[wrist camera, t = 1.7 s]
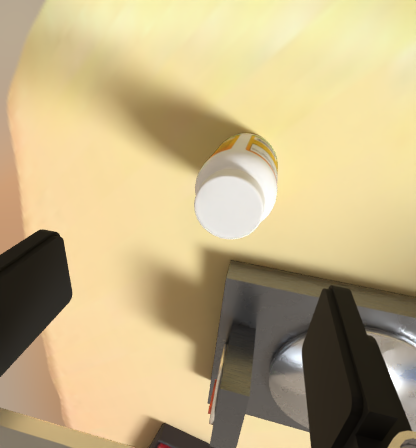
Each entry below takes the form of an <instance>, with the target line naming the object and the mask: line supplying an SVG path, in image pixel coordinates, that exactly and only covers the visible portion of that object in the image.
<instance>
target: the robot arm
mask: <svg viewBox="0 0 416 448" xmlns="http://www.w3.org/2000/svg"><path fill="white" fill-rule="evenodd" d="M71 298H72V288H71V282H70V276H69V270H68V264H67V258H66V252H65V247H64V241H63V238H62V237H60V235H59V233H57V232H54V231H48V230H39V231H37V232H35V233H34V234H32V235H31V236H29V237H28V238H26V239H25V240H23V241H21V242H20V243H18V244H17V245H15V246H13V247H12V248H11V249H9V250H7V251H6V252H4V253H3V254H1V255H0V377H1V375H3V374H4V373H5V371H6V370H7V369H8V368H9V367H10V366H11V365H12V364H13V363H14V361H16V359H17V358H18V357H19V356H20V355H21V354H22V353H23V352H24V351H25V350H26V348H28V346H29V345H30V344H31V343H32V342H33V341H34V340H35V339H36V338H37V337H38V336H39V334H40V333H41V332H42V331H43V330H44V329H45V328H46V327H47V326H48V325H49V324H50V323H51V321H52V320H53V319H54V318H55V317H56V316H57V315H58V314H59V313H60V312H61V311H62V309H63V308H64V307H65V306H66V305H67V304H68V303H69V302H70V300H71ZM302 363H303V373H304V383H305V392H306V402H307V411H308V421H309V431H310V440H311V448H416V432H413V431H412V429H411V426H410V424H409V421H408V419H407V416H406V414H405V411H404V409H403V406H402V404H401V401H400V399H399V396H398V394H397V391H396V389H395V386H394V384H393V381H392V379H391V376H390V374H389V371H388V368H387V366H386V363H385V361H384V358H383V356H382V353H381V351H380V348H379V346H378V343H377V341H376V340H375V338H374V337H373V336H370V335H367V333H366V330H365V327H364V325H363V322H362V319H361V317H360V314H359V311H358V308H357V306H356V303H355V300H354V298H353V295H352V292H351V290H350V289H349V288H344V287H339V286H334V285H330V286H329V288H328V289H326V288H323V289H322V291H321V294H320V297H319V300H318V303H317V305H316V308H315V311H314V314H313V317H312V320H311V322H310V325H309V328H308V331H307V334H306V337H305V339H304V342H303V345H302ZM0 448H135V447H132V446H128V445H125V444H122V443H118V442H115V441H112V440H108V439H105V438H101V437H98V436H95V435H91V434H88V433H85V432H81V431H78V430H74V429H71V428H68V427H64V426H61V425H57V424H54V423H50V422H47V421H44V420H40V419H37V418H33V417H30V416H27V415H23V414H20V413H16V412H13V411H9V410H6V409H3V408H0Z"/></svg>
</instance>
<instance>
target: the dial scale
mask: <svg viewBox="0 0 416 448" xmlns="http://www.w3.org/2000/svg"><path fill="white" fill-rule="evenodd" d="M330 285H334V286H339V287H344V288H349V289H350V290H351V292H352V295H353V298H354V300H355V303H356V306H357V308H358V311H359V314H360V317H361V319H362V322H363V325H364V327H365V330H366V333H367V335H370V336H373V337H374V338H375V340H376V341H377V343H378V346H379V348H380V351H381V353H382V356H383V358H384V361H385V363H386V366H387V368H388V371H389V374H390V376H391V379H392V381H393V384H394V386H395V389H396V391H397V394H398V396H399V399H400V401H401V404H402V406H403V409H404V411H405V414H406V416H407V419H408V421H409V424H410V426H411V429H412V431H413V432H416V297H411V296H406V295H401V294H396V293H391V292H386V291H381V290H377V289H372V288H367V287H362V286H357V285H352V284H347V283H342V282H337V281H332V280H327V279H322V278H317V277H312V276H307V275H302V274H297V273H292V272H287V271H282V270H277V269H272V268H267V267H262V266H257V265H252V264H247V263H242V262H238V261H233V260H231V262H230V266H229V269H228V273H227V277H226V283H225V289H224V296H223V303H222V310H221V316H220V323H219V330H218V337H217V343H216V350H215V357H214V364H213V370H212V377H211V384H210V391H209V397H208V404H210V406H209V411H208V414H211V415H210V421H209V424H212V425H213V430H212V436H211V441H210V446H211V447H214V448H236V446H237V443H238V439H239V435H240V431H241V427H242V423H243V420H244V416H245V414H247V415H251V416H254V417H258V418H261V419H265V420H268V421H272V422H275V423H279V424H282V425H286V426H290V427H293V428H297V429H300V430H304V431H307V432H310V431H309V421H308V411H307V402H306V392H305V383H304V373H303V363H302V345H303V342H304V339H305V337H306V334H307V331H308V328H309V325H310V322H311V320H312V317H313V314H314V311H315V308H316V305H317V303H318V300H319V297H320V294H321V291H322V289H323V288H326V289H328V288H329V286H330Z"/></svg>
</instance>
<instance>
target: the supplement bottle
mask: <svg viewBox="0 0 416 448" xmlns="http://www.w3.org/2000/svg"><path fill="white" fill-rule="evenodd" d="M277 169H278V163H277V157H276V154H275V151H274V150H273V148H272V146H271V145H270V144H269V143H268V142H267V141H266V140H265V139H263V138H262V137H260V136H258V135H255V134H249V133H242V134H237V135H234V136H232V137H230V138H229V139H227V140H226V141H224V142H223V143H222V144H221V145H220V147H219V148H218V149H217V150H216V151H215V152H214V154H213V155H212V156H211V157H210V158H209V159H208V160H207V161H206V162H205V164H204V165H203V166H202V168H201V170H200V171H199V173H198V176H197V179H196V185H195V193H196V197H195V203H194V207H195V213H196V216H197V219H198V221H199V222H200V224H201V225H202V226H203V227H204V228H205V229H206V230H207V231H208V232H209V233H211V234H213V235H215V236H217V237H220V238H224V239H238V238H242V237H245V236H247V235H249V234H250V233H252V232H253V231H254V230H255V229H256V228H257V227H258V225H259V224H260V222H261V221H263V220H264V219H265V218H266V217H267V216H268V215H269V213H270V212H271V210H272V208H273V206H274V204H275V201H276V196H277Z"/></svg>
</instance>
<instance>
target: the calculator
mask: <svg viewBox="0 0 416 448" xmlns="http://www.w3.org/2000/svg"><path fill="white" fill-rule="evenodd" d="M149 448H214V447H211V446H210V444H209V443H206V442H204V441H202V440H200V439H198V438H196V437H194V436H192V435H189V434H187V433H185V432H183V431H181V430H179V429H177V428H175V427H172V426H170V425H168V424H166V423H164V424H163V425H162V426H161V428H160V430H159V431H158V433H157V435H156V436H155V438H154V440H153V441H152V443H151V445H150V447H149Z"/></svg>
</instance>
